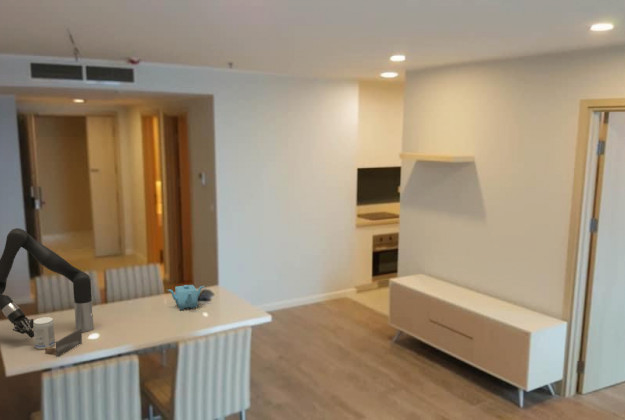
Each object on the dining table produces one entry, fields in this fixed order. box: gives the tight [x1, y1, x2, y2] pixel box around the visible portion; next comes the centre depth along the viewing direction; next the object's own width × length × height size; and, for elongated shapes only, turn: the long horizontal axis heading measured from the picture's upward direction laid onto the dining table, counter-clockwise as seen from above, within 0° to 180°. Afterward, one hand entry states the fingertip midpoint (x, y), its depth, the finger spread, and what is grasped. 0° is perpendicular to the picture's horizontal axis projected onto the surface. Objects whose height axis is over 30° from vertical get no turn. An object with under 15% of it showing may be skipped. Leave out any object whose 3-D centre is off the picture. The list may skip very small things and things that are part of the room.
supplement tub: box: [33, 316, 56, 350], centre depth 277 cm, size 10×10×15 cm
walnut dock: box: [44, 329, 83, 358], centre depth 274 cm, size 9×18×8 cm, turn 166°
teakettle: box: [166, 284, 205, 311], centre depth 342 cm, size 19×19×15 cm
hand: (33, 336), depth 279 cm, fingers closed
